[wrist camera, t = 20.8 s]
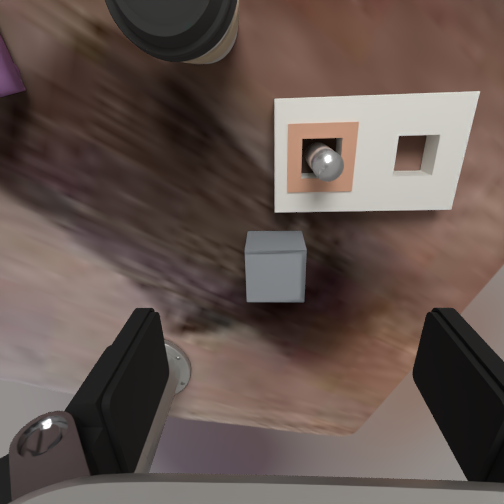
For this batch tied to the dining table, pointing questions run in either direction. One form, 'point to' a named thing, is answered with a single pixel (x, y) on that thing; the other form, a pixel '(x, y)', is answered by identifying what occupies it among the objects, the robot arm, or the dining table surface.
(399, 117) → the board
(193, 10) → the coffee cup
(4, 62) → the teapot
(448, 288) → the dining table surface
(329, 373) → the dining table surface
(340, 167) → the pin
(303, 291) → the cover
